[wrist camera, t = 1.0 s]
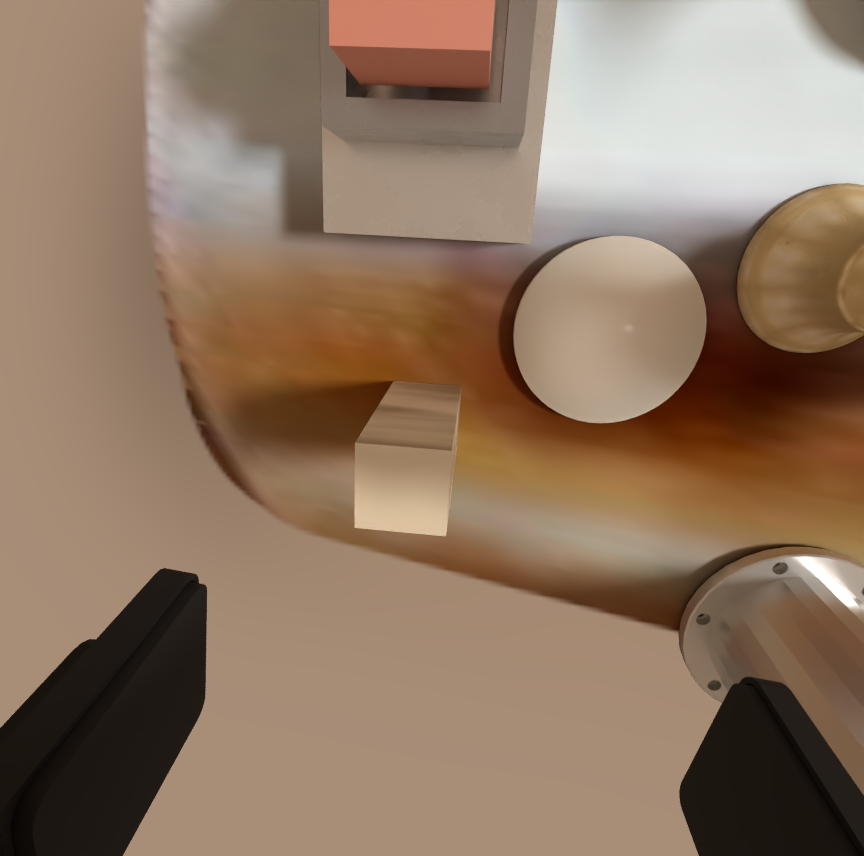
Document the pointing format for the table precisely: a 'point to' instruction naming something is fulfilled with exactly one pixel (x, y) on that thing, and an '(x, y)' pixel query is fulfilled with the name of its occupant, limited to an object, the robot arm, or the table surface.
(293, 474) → the table surface
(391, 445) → the pale wood brick
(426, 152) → the base
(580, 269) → the coaster
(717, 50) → the table surface
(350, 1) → the button
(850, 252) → the hand bell
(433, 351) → the table surface
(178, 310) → the table surface
